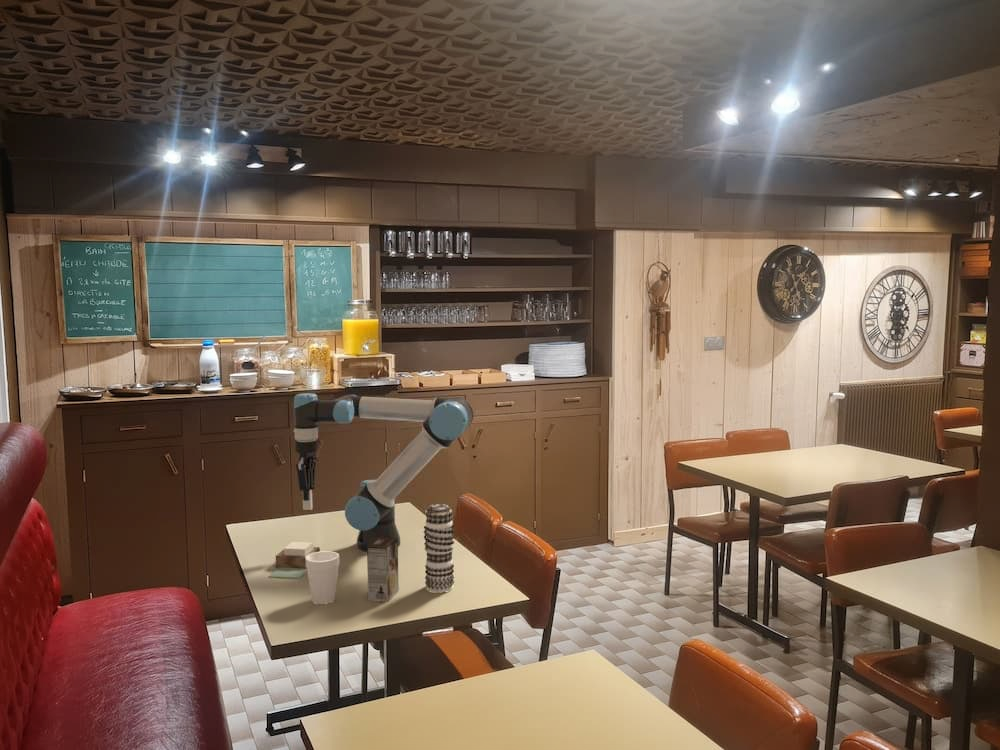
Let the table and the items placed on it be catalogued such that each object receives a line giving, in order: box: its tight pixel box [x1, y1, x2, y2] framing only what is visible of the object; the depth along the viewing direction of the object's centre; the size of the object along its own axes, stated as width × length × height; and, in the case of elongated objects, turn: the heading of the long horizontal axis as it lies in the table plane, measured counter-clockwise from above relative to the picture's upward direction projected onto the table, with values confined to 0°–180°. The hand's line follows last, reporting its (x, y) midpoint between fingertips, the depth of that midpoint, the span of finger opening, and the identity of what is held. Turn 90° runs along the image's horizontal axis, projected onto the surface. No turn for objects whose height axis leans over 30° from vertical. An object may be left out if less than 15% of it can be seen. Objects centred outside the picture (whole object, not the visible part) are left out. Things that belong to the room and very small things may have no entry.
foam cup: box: [306, 550, 340, 605], centre depth 220 cm, size 10×9×13 cm
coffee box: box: [366, 537, 400, 602], centre depth 223 cm, size 9×6×16 cm
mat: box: [268, 567, 307, 579], centre depth 242 cm, size 10×8×1 cm
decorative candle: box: [423, 503, 456, 594], centre depth 229 cm, size 9×9×25 cm
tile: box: [283, 541, 314, 556], centre depth 250 cm, size 7×7×2 cm
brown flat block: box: [275, 546, 321, 569], centre depth 251 cm, size 11×10×4 cm
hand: (307, 509), depth 258 cm, fingers closed
